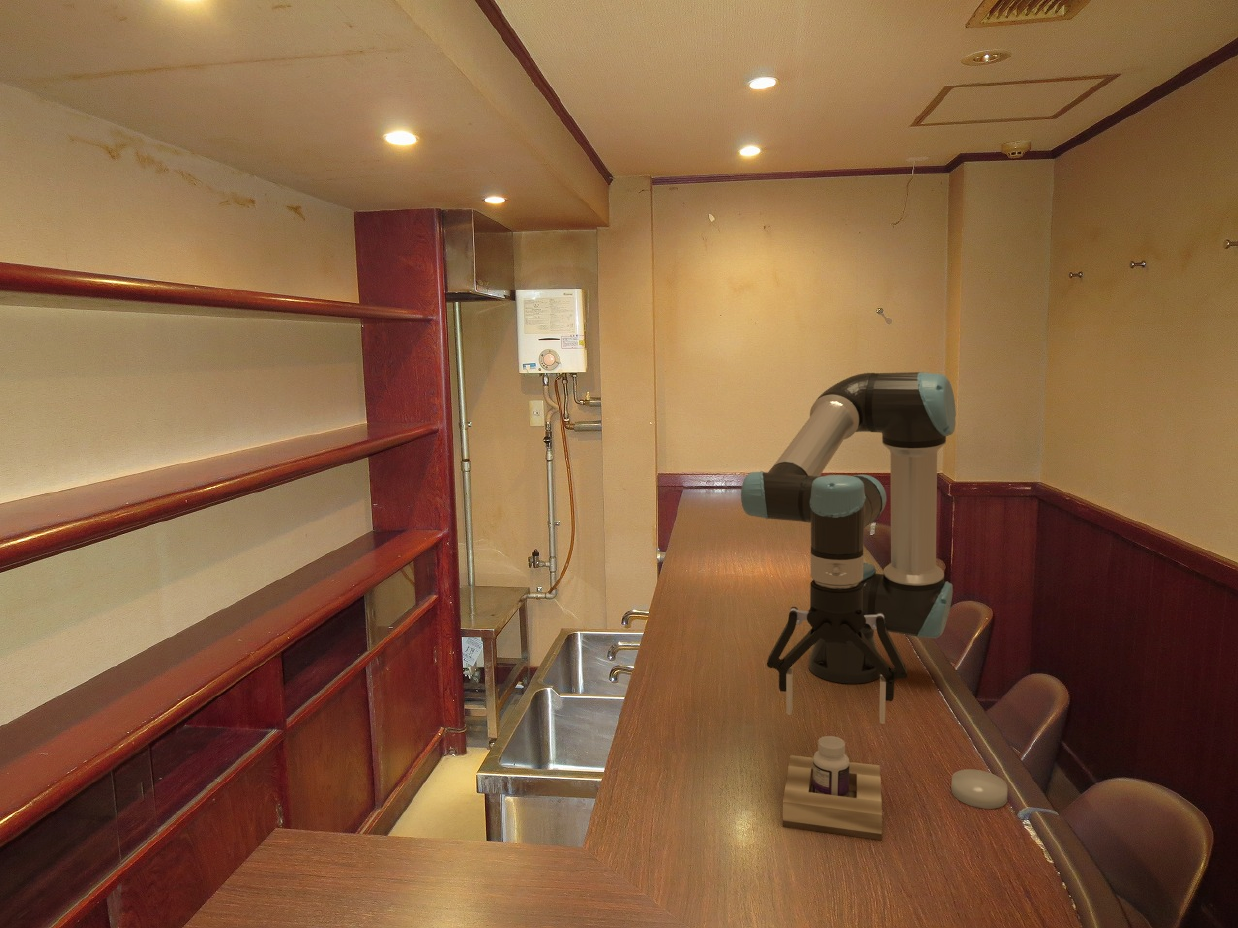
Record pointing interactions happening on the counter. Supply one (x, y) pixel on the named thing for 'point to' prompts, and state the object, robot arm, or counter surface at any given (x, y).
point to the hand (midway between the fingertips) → (835, 715)
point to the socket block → (834, 801)
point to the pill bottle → (831, 767)
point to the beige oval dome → (979, 789)
